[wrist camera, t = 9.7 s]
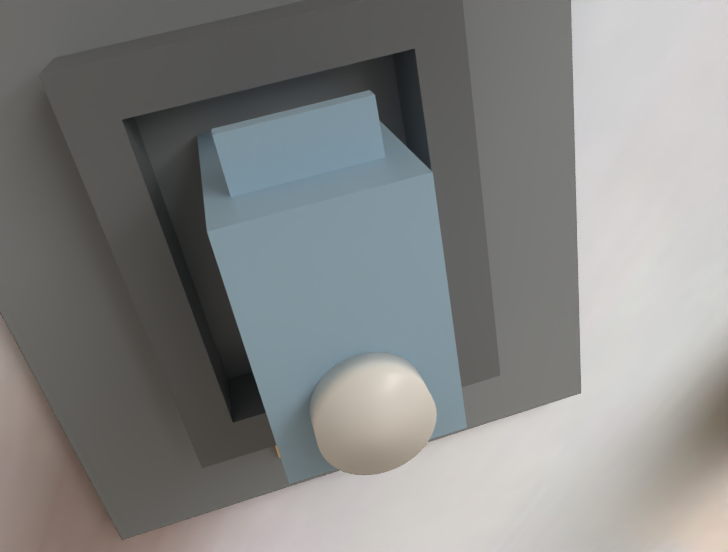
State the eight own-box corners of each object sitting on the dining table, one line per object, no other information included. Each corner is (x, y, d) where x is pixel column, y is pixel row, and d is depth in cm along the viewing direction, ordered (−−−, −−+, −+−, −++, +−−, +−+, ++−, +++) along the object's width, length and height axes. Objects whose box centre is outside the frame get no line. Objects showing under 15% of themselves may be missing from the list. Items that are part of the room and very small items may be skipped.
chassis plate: (546, -235, 15) (615, -264, 13) (569, 379, 24) (613, 430, 22) (-197, -91, 13) (-277, -93, 11) (123, 520, 22) (117, 593, 20)
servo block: (345, 47, 16) (439, 117, 11) (397, 329, 21) (486, 492, 15) (182, 85, 16) (185, 181, 10) (269, 367, 20) (307, 551, 14)
